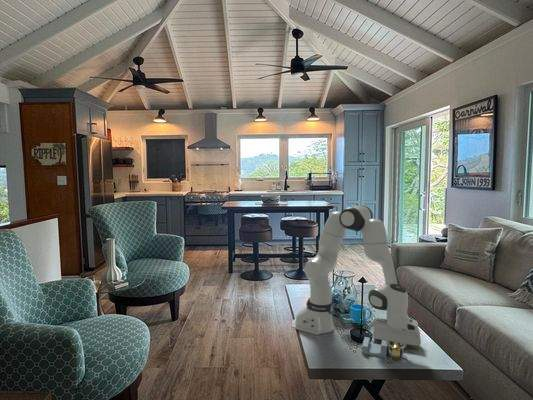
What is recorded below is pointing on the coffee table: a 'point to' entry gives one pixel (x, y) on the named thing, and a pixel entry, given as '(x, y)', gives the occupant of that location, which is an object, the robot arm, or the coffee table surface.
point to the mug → (358, 313)
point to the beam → (402, 344)
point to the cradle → (374, 348)
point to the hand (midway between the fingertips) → (395, 350)
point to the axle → (395, 351)
